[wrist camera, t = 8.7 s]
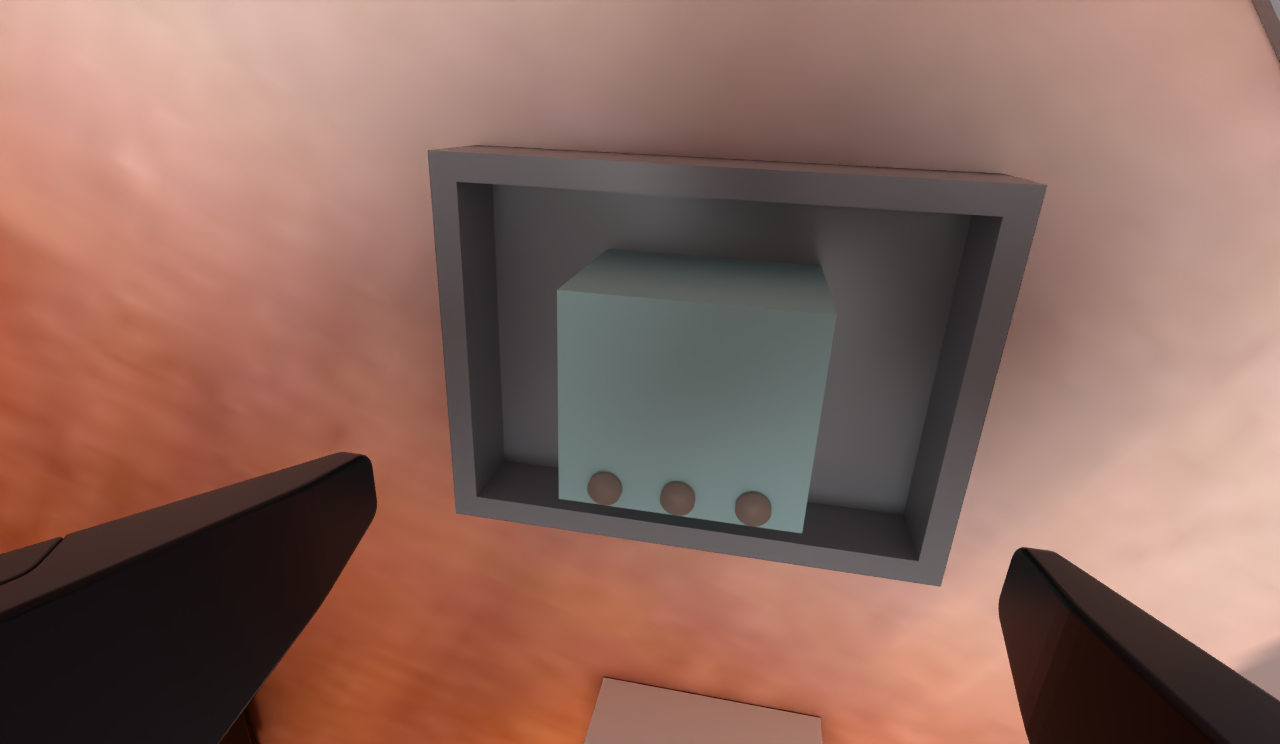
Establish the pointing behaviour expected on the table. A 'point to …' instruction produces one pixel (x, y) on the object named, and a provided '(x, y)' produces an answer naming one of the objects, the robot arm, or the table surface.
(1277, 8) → the office telephone
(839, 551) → the tray
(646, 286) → the stub
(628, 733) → the pad
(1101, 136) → the table surface
